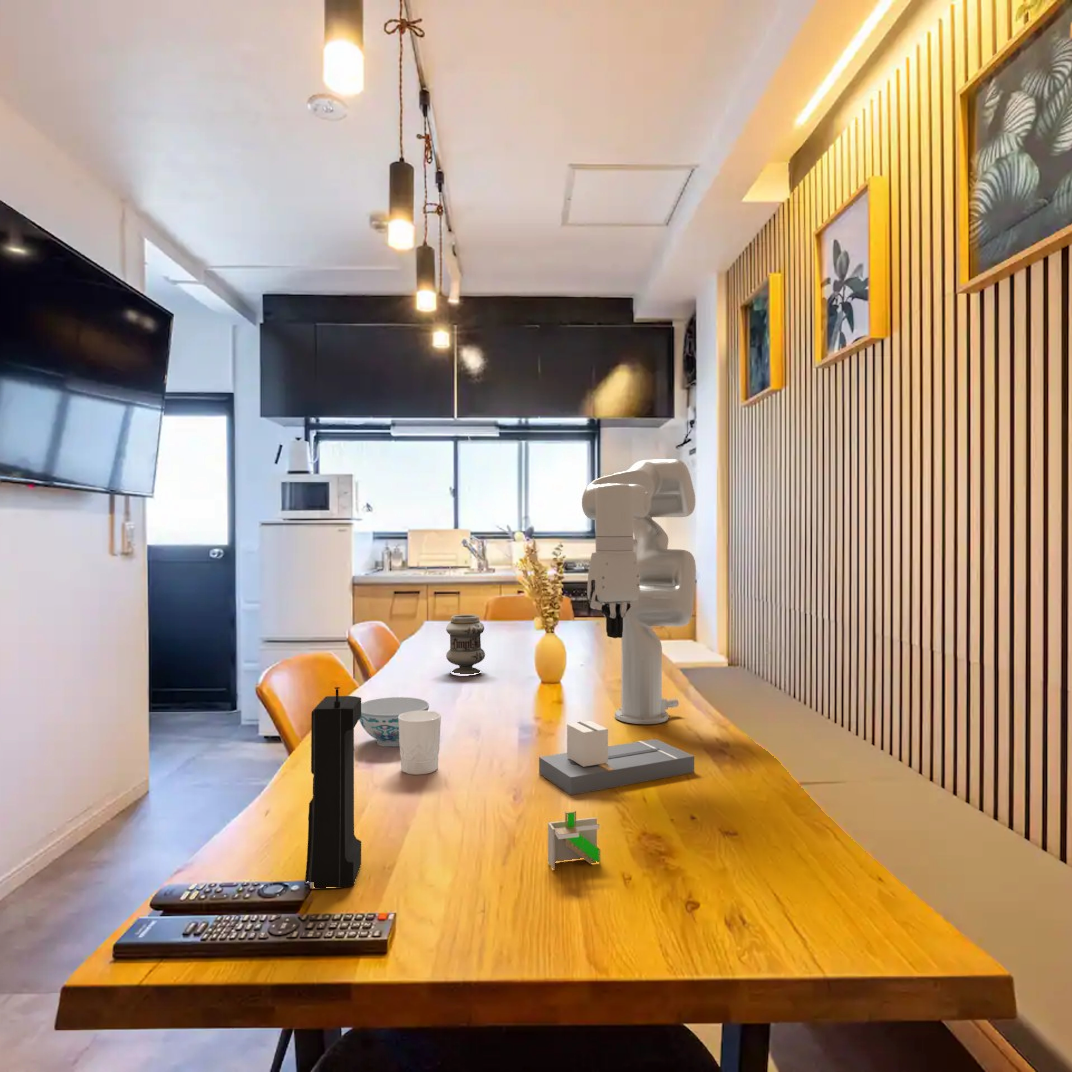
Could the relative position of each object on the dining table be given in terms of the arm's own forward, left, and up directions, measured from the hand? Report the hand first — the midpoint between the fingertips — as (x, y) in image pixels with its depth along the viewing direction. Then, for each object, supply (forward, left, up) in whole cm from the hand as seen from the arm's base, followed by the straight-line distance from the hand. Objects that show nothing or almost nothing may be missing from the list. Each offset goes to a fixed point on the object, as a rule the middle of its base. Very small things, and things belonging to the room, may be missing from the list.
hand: (614, 636), depth 144 cm
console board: (+6, +10, -23) cm, 26 cm away
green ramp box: (+31, +38, -24) cm, 55 cm away
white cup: (+38, -8, -24) cm, 45 cm away
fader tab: (+12, +10, -20) cm, 26 cm away
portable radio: (+60, +27, -24) cm, 70 cm away
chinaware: (+38, -27, -24) cm, 52 cm away
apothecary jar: (-1, -88, -24) cm, 91 cm away
